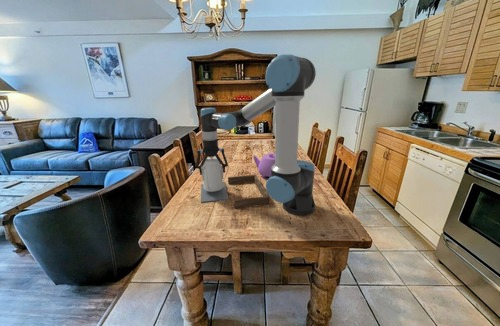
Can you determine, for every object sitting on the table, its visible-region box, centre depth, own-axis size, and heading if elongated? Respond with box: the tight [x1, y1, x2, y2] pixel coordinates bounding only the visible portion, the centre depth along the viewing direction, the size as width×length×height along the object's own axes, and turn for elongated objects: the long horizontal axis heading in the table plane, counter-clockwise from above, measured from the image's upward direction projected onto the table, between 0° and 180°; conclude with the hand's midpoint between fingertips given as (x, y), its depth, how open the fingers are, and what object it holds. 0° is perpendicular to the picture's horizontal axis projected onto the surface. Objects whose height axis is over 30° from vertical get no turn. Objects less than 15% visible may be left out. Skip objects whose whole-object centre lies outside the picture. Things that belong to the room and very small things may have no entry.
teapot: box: [252, 152, 275, 179], centre depth 143 cm, size 20×20×15 cm
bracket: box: [227, 174, 271, 209], centre depth 119 cm, size 30×17×4 cm, turn 12°
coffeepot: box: [201, 156, 224, 192], centre depth 118 cm, size 11×25×19 cm, turn 169°
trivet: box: [200, 181, 229, 204], centre depth 121 cm, size 22×14×1 cm, turn 12°
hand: (213, 179), depth 119 cm, fingers closed on coffeepot, 10 cm apart
